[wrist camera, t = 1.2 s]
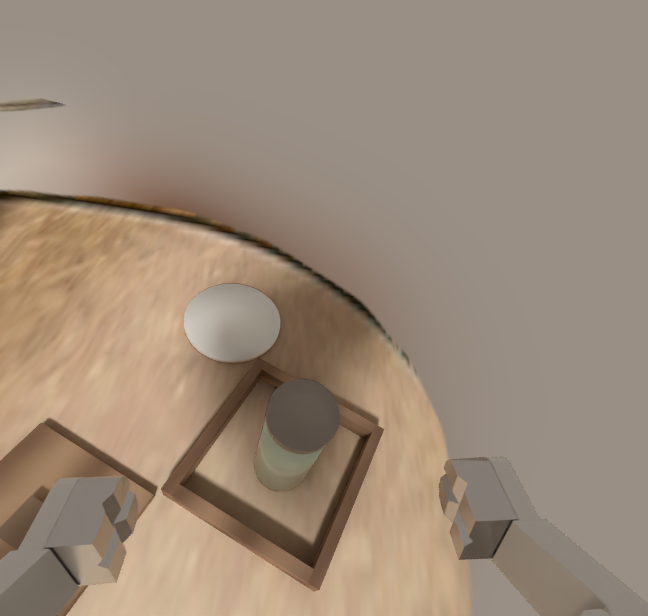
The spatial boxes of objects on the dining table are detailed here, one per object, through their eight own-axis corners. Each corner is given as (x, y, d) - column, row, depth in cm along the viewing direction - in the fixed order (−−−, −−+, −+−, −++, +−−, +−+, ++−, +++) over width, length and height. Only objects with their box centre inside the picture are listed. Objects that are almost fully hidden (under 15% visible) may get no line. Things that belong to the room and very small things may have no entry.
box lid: (-107, 567, 28) (-124, 565, 26) (44, 425, 35) (37, 418, 34) (26, 667, 26) (16, 670, 25) (154, 496, 34) (152, 491, 32)
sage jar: (241, 473, 37) (252, 424, 27) (271, 425, 40) (290, 366, 31) (291, 504, 36) (320, 464, 27) (318, 452, 39) (351, 401, 30)
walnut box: (163, 494, 34) (161, 488, 32) (257, 366, 44) (258, 357, 42) (314, 591, 32) (319, 590, 31) (377, 436, 42) (384, 429, 40)
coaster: (162, 331, 44) (162, 328, 43) (222, 273, 51) (222, 270, 50) (247, 380, 42) (247, 378, 42) (296, 314, 49) (296, 311, 49)
